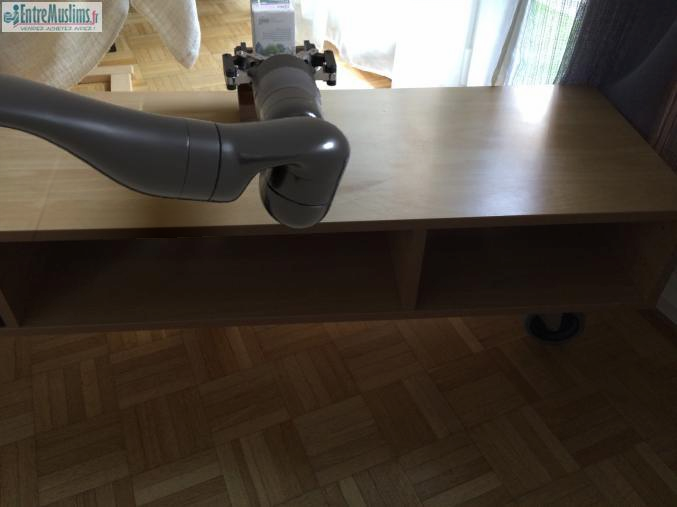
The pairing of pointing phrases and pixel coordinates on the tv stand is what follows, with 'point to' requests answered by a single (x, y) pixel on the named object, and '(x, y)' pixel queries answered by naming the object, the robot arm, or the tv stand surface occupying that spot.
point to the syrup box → (273, 27)
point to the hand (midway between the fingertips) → (275, 48)
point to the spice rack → (250, 95)
